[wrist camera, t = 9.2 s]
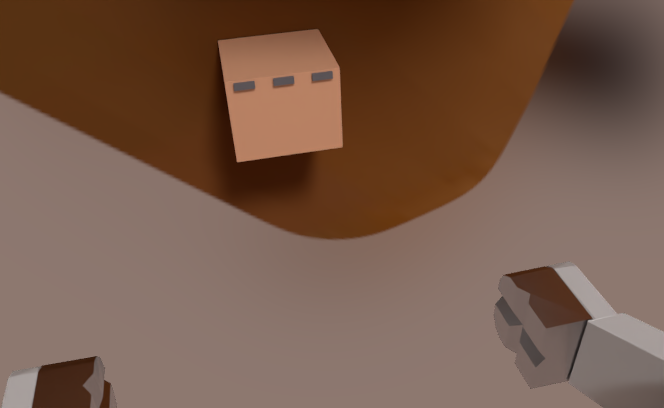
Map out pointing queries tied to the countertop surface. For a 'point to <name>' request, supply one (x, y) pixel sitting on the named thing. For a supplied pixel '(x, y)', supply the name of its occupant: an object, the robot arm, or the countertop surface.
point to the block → (281, 94)
